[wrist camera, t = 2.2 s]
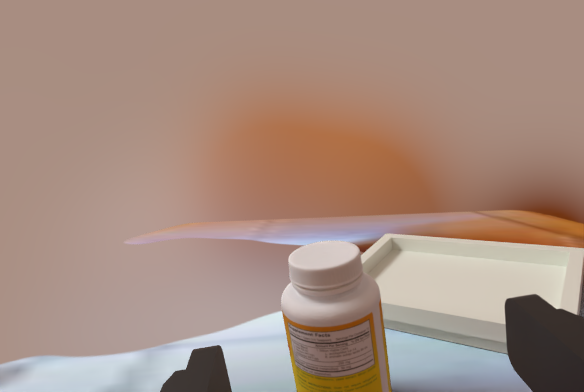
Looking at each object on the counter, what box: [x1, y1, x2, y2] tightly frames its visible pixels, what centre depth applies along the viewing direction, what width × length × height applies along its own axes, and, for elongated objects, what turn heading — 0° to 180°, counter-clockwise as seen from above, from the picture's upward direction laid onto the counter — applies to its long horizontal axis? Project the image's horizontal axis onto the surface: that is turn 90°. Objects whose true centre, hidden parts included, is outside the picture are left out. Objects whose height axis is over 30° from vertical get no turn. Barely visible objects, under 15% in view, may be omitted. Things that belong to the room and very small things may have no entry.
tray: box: [361, 234, 584, 354], centre depth 37 cm, size 18×14×2 cm
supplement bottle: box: [281, 241, 392, 392], centre depth 25 cm, size 6×6×10 cm
